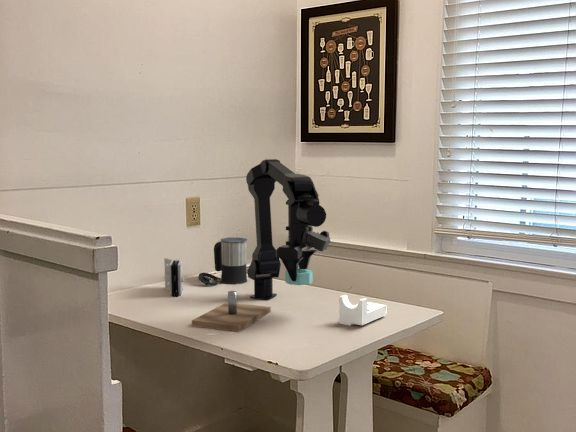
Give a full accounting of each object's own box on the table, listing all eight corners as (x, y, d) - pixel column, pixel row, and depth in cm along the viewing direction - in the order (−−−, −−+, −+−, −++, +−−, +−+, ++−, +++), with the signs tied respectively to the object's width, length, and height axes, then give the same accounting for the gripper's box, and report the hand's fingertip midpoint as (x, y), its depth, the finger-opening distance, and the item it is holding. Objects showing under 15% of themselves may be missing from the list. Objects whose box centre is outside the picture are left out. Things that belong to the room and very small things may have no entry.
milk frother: (252, 280, 227) (252, 238, 225) (229, 289, 213) (229, 245, 211) (217, 276, 233) (216, 235, 231) (193, 285, 219) (192, 242, 217)
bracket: (361, 328, 170) (362, 300, 169) (339, 324, 174) (339, 296, 173) (386, 317, 180) (386, 291, 179) (364, 313, 184) (364, 287, 183)
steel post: (230, 313, 180) (230, 290, 179) (238, 314, 179) (238, 291, 179) (226, 315, 178) (226, 292, 177) (234, 316, 177) (234, 293, 176)
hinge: (164, 287, 216) (164, 257, 215) (181, 286, 218) (180, 257, 216) (170, 297, 203) (169, 265, 202) (187, 296, 204) (186, 264, 203)
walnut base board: (226, 307, 191) (226, 302, 190) (270, 311, 185) (270, 306, 185) (191, 325, 172) (191, 320, 172) (239, 331, 167) (239, 325, 167)
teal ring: (291, 278, 184) (291, 268, 184) (315, 280, 182) (315, 269, 181) (282, 283, 178) (282, 272, 178) (306, 285, 175) (306, 274, 175)
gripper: (314, 228, 166) (314, 288, 168) (337, 219, 183) (337, 274, 185) (274, 226, 170) (275, 284, 172) (300, 217, 188) (300, 271, 189)
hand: (298, 278), depth 180 cm, fingers closed on teal ring, 7 cm apart
